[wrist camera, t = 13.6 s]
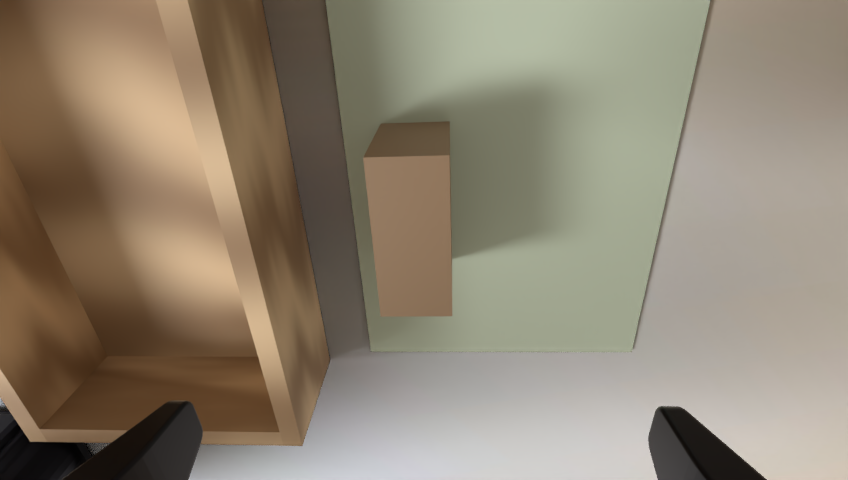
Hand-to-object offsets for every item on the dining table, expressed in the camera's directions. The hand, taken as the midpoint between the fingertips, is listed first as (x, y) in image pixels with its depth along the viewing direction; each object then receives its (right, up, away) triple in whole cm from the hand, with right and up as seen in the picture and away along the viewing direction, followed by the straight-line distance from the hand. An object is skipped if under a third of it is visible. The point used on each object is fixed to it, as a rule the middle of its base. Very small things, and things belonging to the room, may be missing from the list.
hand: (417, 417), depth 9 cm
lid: (+3, +7, +10) cm, 12 cm away
